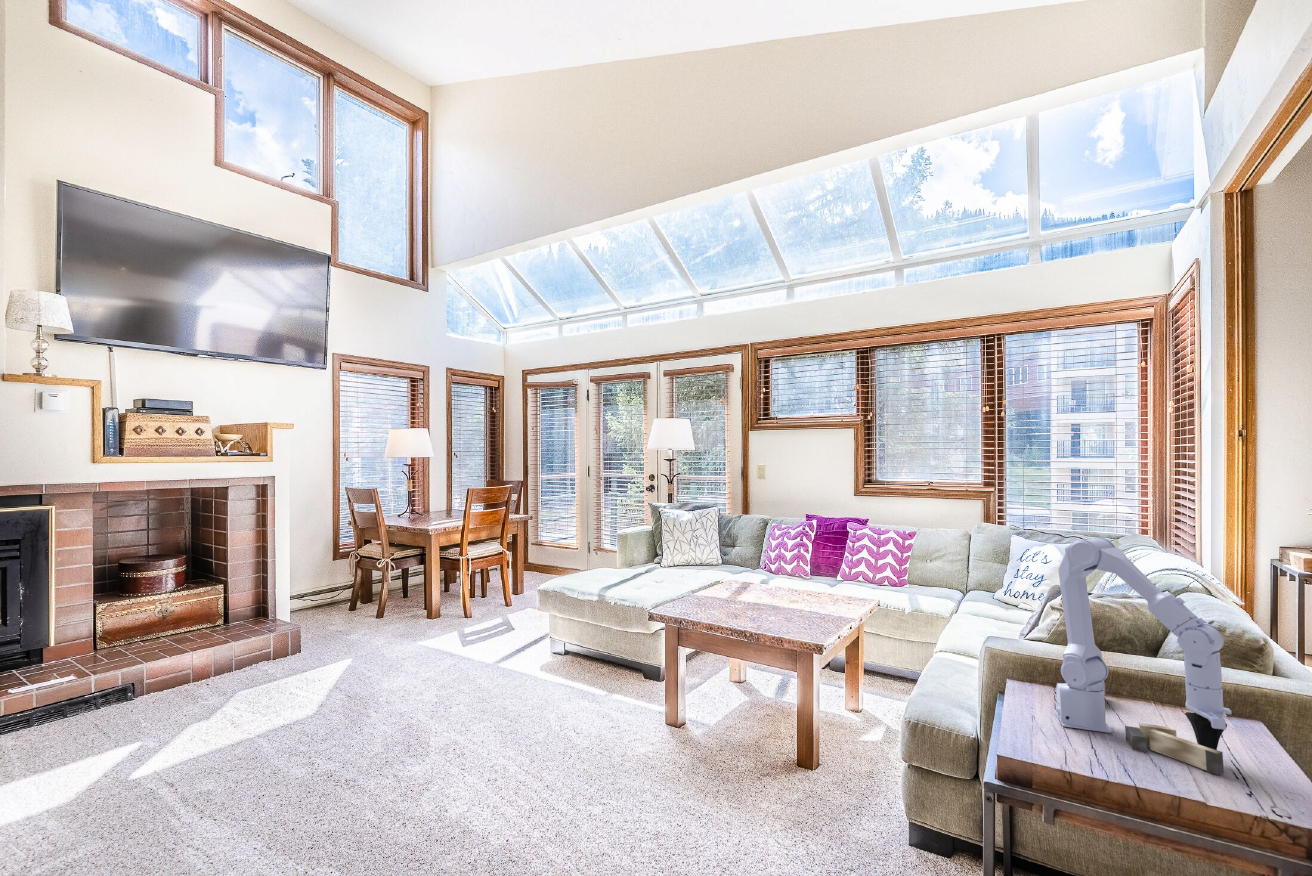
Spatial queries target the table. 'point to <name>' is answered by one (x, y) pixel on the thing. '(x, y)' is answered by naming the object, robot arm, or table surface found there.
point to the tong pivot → (1144, 735)
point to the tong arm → (1187, 751)
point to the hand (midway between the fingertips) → (1207, 752)
